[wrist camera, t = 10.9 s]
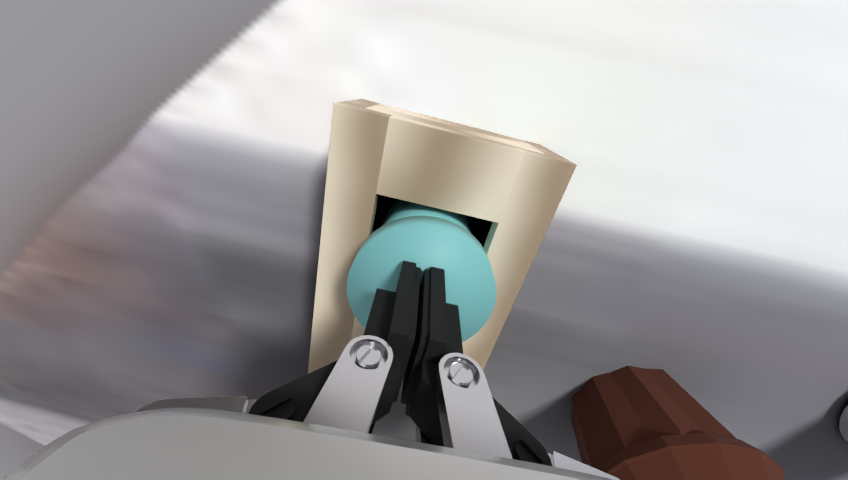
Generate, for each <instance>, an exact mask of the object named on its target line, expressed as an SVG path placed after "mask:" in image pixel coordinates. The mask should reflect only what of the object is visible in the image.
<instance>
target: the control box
mask: <svg viewBox="0 0 848 480" xmlns="http://www.w3.org/2000/svg"><path fill="white" fill-rule="evenodd" d="M576 166H577V165H576V164H574V163H572V162H570V161H568V160H567V159H565V158H563V157H561V156H559V155H558V154H556V153H554V152H552V151H550V150H549V149H547V148H545V147H543V146H541V145H539V144H535V143H531V142H527V141H523V140H519V139H515V138H511V137H508V136H504V135H500V134H496V133H492V132H488V131H484V130H480V129H476V128H473V127H469V126H465V125H461V124H457V123H453V122H449V121H445V120H441V119H438V118H434V117H430V116H426V115H422V114H418V113H414V112H410V111H406V110H403V109H399V108H395V107H391V106H387V105H383V104H379V103H375V102H371V101H368V100H364V99H359V100H352V101H345V102H338V103H333V113H332V124H331V134H330V145H329V155H328V166H327V176H326V187H325V197H324V208H323V218H322V229H321V239H320V250H319V261H318V271H317V282H316V292H315V303H314V313H313V324H312V334H311V345H310V355H309V366H308V374H309V373H311V372H313V371H315V370H317V369H320V368H322V367H324V366H326V365H328V364H330V363H332V362H334V361H337V360H339V358H340V356H341V354H342V352H343V351H344V349H345V347H346V346H347V344H348V343H349V342H350V341H351V340H353V339H354V338H356V337H359V336H363V334H364V331H365V328H364V327H363V326H362V325H361V324H360V322H359V321H358V320H357V319H356V317H355V315H354V314H353V312H352V310H351V307H350V305H349V301H348V297H347V278H348V274H349V271H350V268H351V266H352V264H353V261H354V259H355V257H356V255H357V253H358V251H359V249H360V248H361V246H362V244H363V243H364V242H365V240H366V239H367V238H368V237H369V236H370V235H371V234H372V229H373V223H374V218H375V212H376V206H377V201H378V195H383V196H387V197H391V198H396V199H400V200H404V201H408V202H413V203H417V204H421V205H425V206H429V207H434V208H438V209H442V210H446V211H450V212H455V213H459V214H463V215H467V216H471V217H476V218H480V219H484V220H488V221H492V225H491V227H490V230H489V233H488V236H487V238H486V241H485V244H484V247H483V248H484V250H485V252H486V254H487V256H488V258H489V261H490V265H491V268H492V271H493V275H494V278H495V283H496V301H495V305H494V308H493V311H492V313H491V315H490V317H489V319H488V321H487V322H486V323H485V325H484V326H483V327H482V328H481V329H480V330H479V331H478V332H477V333H476V334H475V335H473V336H472V337H471V338H469V339H468V340H466V341H464V342H462V346H463V354H465V355H467V356H469V357H471V358H472V359H474V360H475V361H476V362H477V363H478V364H479V365H480V366H481V368H482V370H483V369H484V367H485V365H486V363H487V360H488V358H489V356H490V354H491V352H492V349H493V347H494V345H495V343H496V341H497V339H498V336H499V334H500V332H501V330H502V328H503V325H504V323H505V321H506V319H507V317H508V314H509V312H510V310H511V308H512V306H513V303H514V301H515V299H516V297H517V295H518V293H519V290H520V288H521V286H522V284H523V282H524V279H525V277H526V275H527V273H528V271H529V268H530V266H531V264H532V262H533V260H534V258H535V255H536V253H537V251H538V249H539V247H540V244H541V242H542V240H543V238H544V236H545V233H546V231H547V229H548V227H549V225H550V223H551V220H552V218H553V216H554V214H555V212H556V209H557V207H558V205H559V203H560V201H561V198H562V196H563V194H564V192H565V190H566V188H567V185H568V183H569V181H570V179H571V177H572V174H573V172H574V170H575V168H576Z"/></svg>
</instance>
